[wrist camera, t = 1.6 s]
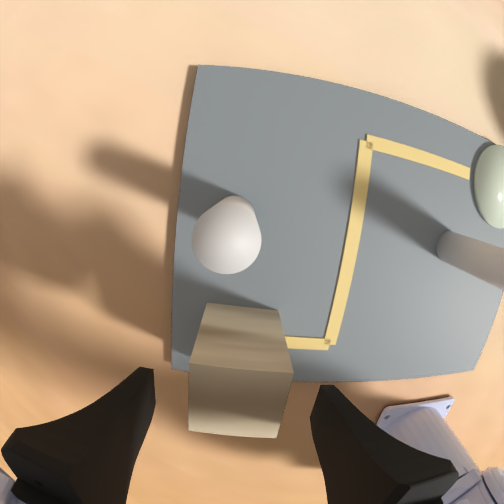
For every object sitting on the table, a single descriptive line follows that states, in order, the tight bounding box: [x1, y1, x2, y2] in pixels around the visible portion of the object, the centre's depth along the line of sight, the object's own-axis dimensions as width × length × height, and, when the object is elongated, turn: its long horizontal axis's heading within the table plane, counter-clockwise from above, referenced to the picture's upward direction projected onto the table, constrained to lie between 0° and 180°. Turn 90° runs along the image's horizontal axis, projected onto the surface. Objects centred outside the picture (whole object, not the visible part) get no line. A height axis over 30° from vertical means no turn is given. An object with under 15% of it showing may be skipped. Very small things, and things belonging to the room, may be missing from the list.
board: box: [171, 65, 504, 382], centre depth 13 cm, size 18×24×8 cm
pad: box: [473, 145, 504, 229], centre depth 15 cm, size 6×6×1 cm
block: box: [188, 303, 294, 438], centre depth 14 cm, size 4×4×6 cm
